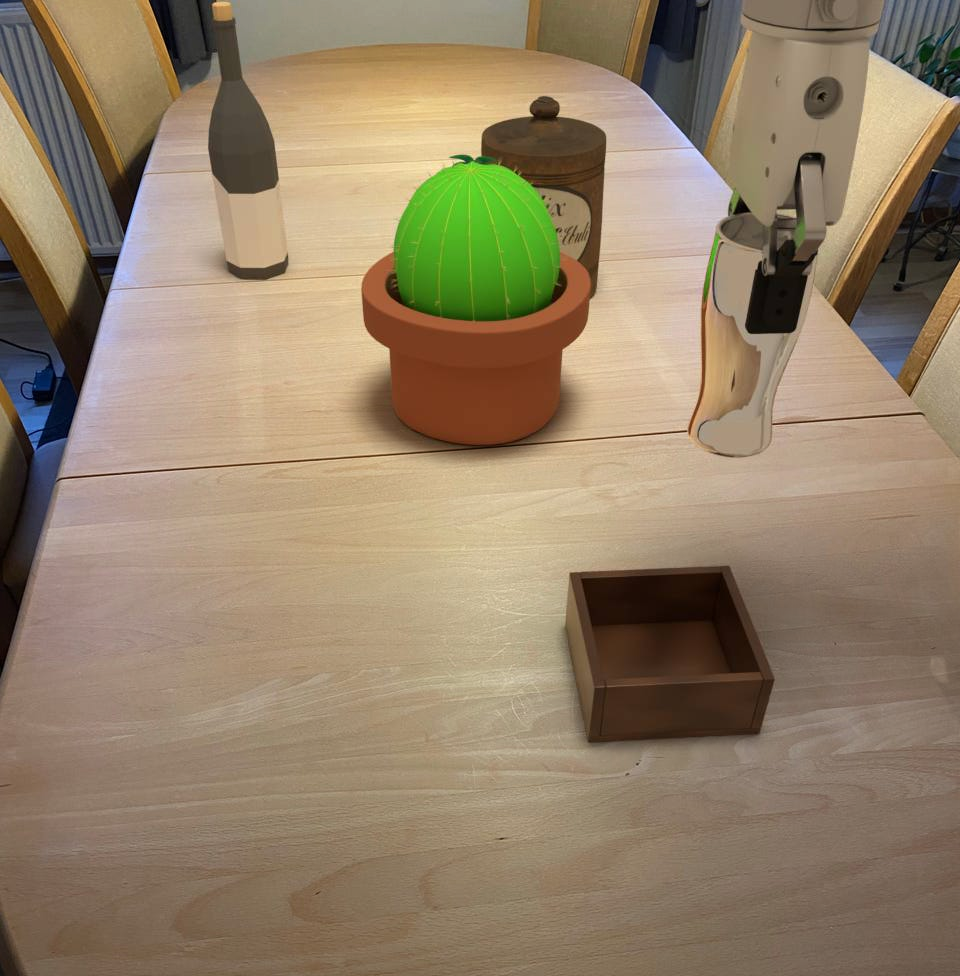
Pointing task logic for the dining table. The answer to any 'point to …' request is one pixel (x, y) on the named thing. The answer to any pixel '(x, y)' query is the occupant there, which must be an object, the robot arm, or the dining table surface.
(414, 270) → the potted cactus
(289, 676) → the dining table surface
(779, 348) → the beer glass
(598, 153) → the wooden container
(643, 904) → the dining table surface
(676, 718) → the crate
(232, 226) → the wine bottle
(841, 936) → the dining table surface
